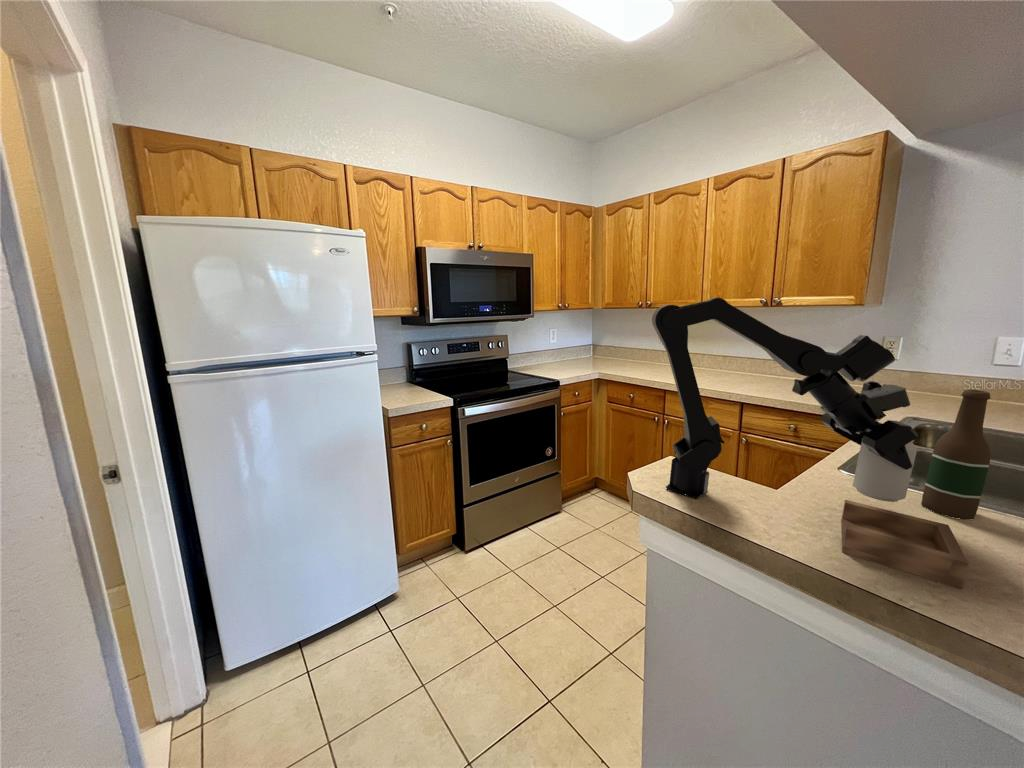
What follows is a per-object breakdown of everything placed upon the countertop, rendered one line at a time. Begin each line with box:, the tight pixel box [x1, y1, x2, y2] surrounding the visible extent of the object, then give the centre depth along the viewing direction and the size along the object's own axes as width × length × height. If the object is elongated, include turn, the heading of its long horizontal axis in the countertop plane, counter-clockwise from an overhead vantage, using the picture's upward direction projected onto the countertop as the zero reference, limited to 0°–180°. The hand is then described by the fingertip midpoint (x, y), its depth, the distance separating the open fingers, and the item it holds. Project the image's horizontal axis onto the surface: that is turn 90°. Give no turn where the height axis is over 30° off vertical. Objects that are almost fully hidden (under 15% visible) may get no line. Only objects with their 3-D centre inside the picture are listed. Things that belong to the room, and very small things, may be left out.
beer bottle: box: [921, 389, 992, 520], centre depth 76 cm, size 8×8×24 cm
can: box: [852, 438, 918, 503], centre depth 75 cm, size 8×8×12 cm
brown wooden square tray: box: [840, 499, 970, 589], centre depth 64 cm, size 13×13×4 cm
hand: (894, 460), depth 74 cm, fingers closed on can, 7 cm apart
